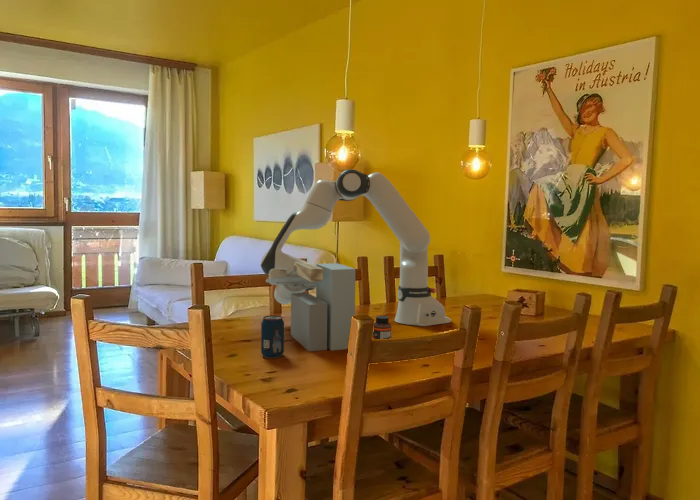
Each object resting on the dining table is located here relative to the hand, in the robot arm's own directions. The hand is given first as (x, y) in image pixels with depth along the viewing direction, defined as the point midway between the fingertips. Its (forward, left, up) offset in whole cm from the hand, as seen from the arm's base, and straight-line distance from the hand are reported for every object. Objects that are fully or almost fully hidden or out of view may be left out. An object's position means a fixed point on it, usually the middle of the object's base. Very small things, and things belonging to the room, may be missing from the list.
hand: (302, 267), depth 192 cm
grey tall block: (-8, +11, -25) cm, 28 cm away
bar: (0, +7, -2) cm, 7 cm away
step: (0, +7, -25) cm, 26 cm away
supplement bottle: (-19, +25, -25) cm, 40 cm away
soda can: (+15, +19, -25) cm, 35 cm away
